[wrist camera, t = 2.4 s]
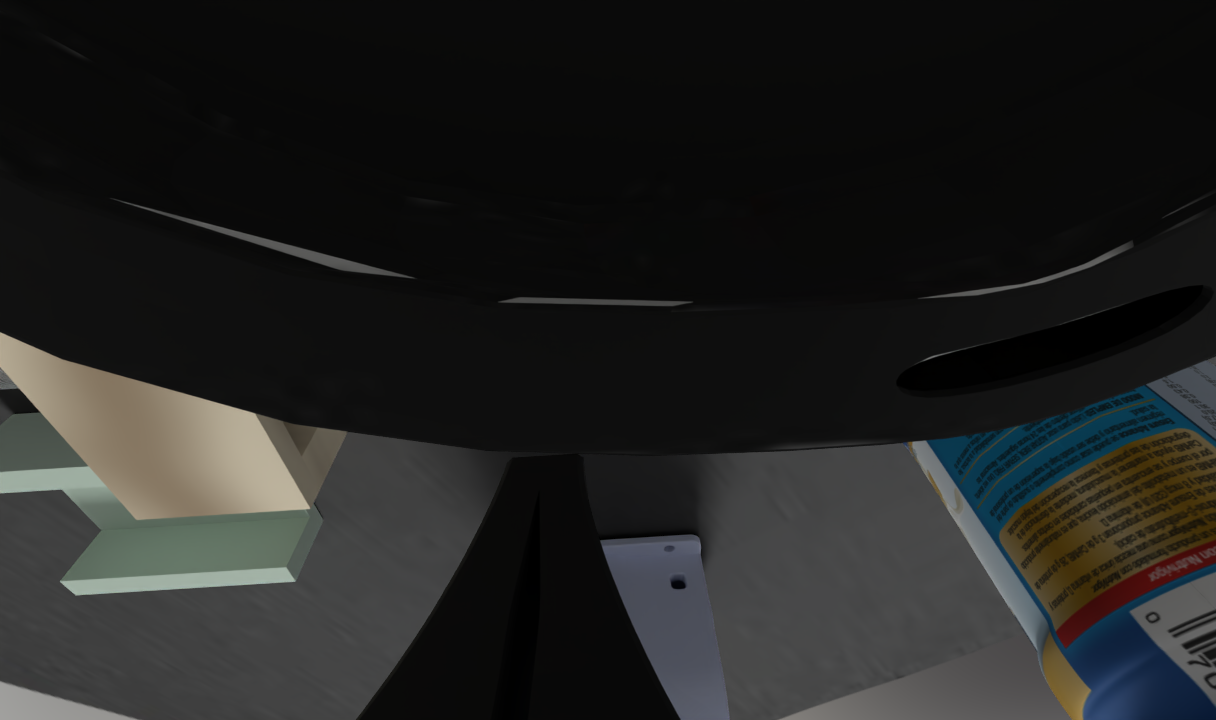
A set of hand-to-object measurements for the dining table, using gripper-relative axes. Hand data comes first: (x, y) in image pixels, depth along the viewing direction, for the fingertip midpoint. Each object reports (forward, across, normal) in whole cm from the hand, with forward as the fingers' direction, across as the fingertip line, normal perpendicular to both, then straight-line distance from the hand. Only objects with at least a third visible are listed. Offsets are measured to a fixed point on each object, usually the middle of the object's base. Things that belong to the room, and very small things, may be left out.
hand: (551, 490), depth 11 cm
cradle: (+9, +16, +8) cm, 20 cm away
